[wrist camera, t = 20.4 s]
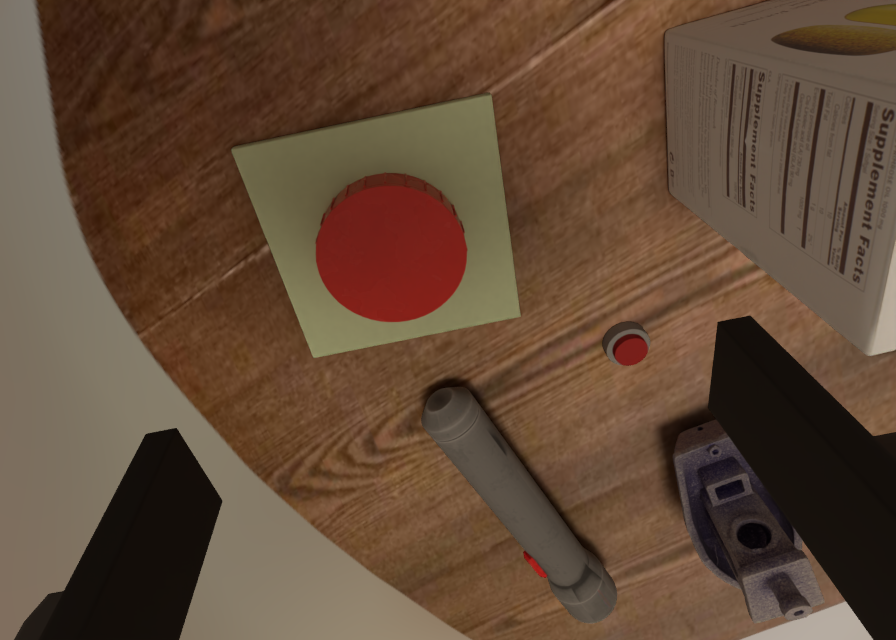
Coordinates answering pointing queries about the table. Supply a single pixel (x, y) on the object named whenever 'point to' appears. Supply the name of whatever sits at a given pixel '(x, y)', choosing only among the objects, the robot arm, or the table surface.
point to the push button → (626, 343)
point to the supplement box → (795, 149)
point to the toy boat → (741, 527)
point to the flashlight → (519, 503)
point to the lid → (391, 248)
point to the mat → (374, 152)
